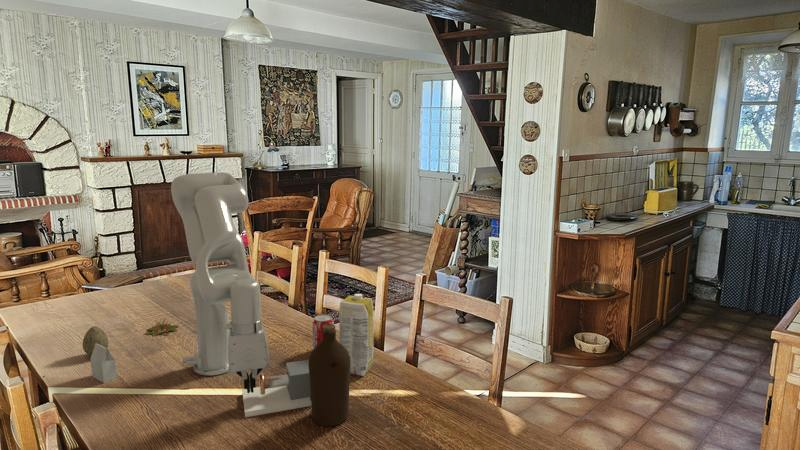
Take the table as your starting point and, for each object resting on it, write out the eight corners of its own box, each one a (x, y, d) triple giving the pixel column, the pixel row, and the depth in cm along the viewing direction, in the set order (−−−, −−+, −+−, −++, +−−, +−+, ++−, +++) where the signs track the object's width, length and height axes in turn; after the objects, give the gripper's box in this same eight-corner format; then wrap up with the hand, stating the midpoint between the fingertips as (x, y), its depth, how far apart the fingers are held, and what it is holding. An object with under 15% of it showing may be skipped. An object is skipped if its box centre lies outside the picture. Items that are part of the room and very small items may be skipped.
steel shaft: (261, 398, 138) (260, 379, 137) (259, 388, 143) (258, 369, 142) (315, 389, 143) (315, 371, 142) (312, 380, 148) (311, 362, 147)
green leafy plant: (186, 325, 194) (185, 314, 193) (169, 339, 182) (168, 327, 181) (155, 324, 195) (154, 312, 194) (136, 337, 183) (135, 325, 182)
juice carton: (375, 366, 162) (375, 293, 158) (365, 378, 155) (365, 302, 150) (348, 362, 165) (347, 290, 161) (337, 373, 158) (336, 298, 153)
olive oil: (359, 415, 135) (359, 325, 131) (329, 433, 128) (327, 338, 123) (331, 401, 142) (330, 315, 137) (301, 417, 134) (298, 326, 129)
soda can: (330, 357, 168) (329, 322, 166) (309, 355, 170) (308, 320, 167) (337, 348, 175) (336, 314, 173) (317, 346, 177) (316, 312, 174)
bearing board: (245, 417, 134) (243, 386, 132) (242, 394, 145) (241, 366, 143) (347, 399, 143) (346, 370, 141) (337, 379, 154) (336, 352, 152)
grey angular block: (104, 383, 150) (100, 351, 148) (92, 376, 154) (88, 345, 152) (116, 378, 153) (113, 346, 151) (105, 372, 157) (101, 341, 155)
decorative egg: (114, 353, 169) (111, 324, 167) (93, 362, 163) (90, 332, 161) (100, 349, 172) (96, 320, 170) (79, 357, 166) (75, 328, 164)
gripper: (216, 335, 130) (220, 402, 133) (277, 328, 135) (280, 392, 138) (216, 324, 137) (220, 388, 140) (274, 317, 142) (277, 379, 145)
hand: (250, 390), depth 139 cm, fingers closed
